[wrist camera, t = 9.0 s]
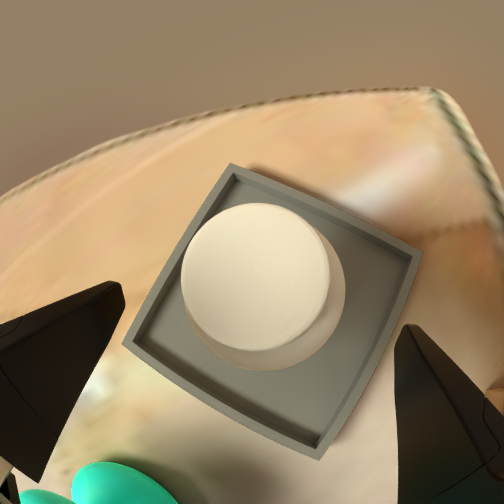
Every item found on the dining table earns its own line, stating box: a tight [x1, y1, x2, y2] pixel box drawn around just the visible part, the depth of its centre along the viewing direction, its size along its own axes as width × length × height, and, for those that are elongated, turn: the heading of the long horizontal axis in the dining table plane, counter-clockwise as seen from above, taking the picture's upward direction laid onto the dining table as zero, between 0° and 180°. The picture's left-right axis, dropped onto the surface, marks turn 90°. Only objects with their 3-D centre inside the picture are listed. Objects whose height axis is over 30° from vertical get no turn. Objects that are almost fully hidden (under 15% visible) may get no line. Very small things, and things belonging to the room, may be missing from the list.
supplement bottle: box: [181, 203, 345, 371], centre depth 12 cm, size 6×6×10 cm
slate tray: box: [122, 163, 423, 461], centre depth 17 cm, size 14×14×2 cm
